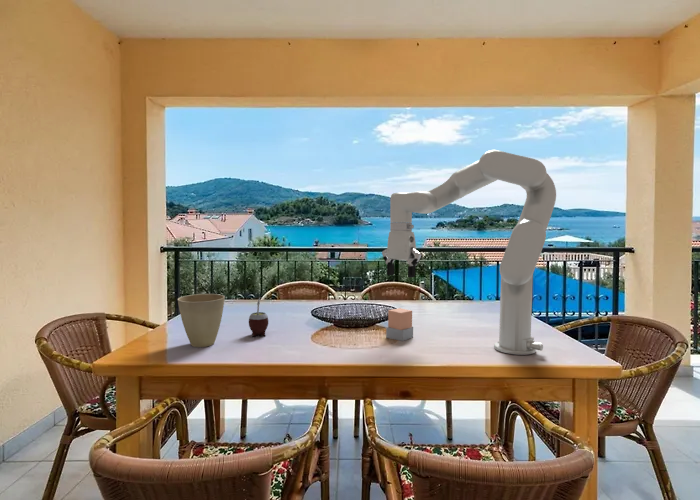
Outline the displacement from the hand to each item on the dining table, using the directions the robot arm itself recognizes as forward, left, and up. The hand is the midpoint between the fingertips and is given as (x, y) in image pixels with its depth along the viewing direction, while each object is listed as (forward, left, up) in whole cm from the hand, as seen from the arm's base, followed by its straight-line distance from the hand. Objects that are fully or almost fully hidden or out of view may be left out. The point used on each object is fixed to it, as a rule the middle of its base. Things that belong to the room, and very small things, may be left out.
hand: (400, 276), depth 152 cm
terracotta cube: (0, 0, -18) cm, 18 cm away
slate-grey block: (0, 0, -22) cm, 22 cm away
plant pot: (+39, +56, -22) cm, 72 cm away
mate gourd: (+36, +36, -22) cm, 56 cm away
